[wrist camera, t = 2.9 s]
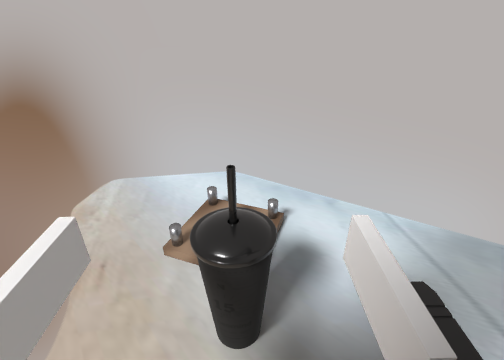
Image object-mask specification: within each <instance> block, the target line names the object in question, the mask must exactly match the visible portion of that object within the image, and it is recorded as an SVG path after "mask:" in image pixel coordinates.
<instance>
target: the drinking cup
mask: <svg viewBox="0 0 504 360" xmlns="http://www.w3.org/2000/svg"><path fill="white" fill-rule="evenodd" d="M226 169H227V188H228V206H229V207H228V208H222V209H218V210H215V211H212V212H210V213H208V214H206V215H204V216H203V217H202V218H200V219H199V220H198V221H197V222H196V223H195V224H194V226H193V228H192V230H191V233H190V245H191V248H192V250H193V252H194V253H195V255H196V256H197V259H198V263H199V267H200V270H201V274H202V278H203V282H204V286H205V289H206V293H207V297H208V301H209V304H210V308H211V312H212V316H213V320H214V323H215V327H216V331H217V335H218V337H219V339H220V341H221V342H222V343H223V344H224V345H226V346H228V347H230V348H234V349H242V348H245V347H248V346H250V345H251V344H252V343H253V342H254V341H255V340H256V339H257V337H258V335H259V333H260V327H261V320H262V314H263V308H264V301H265V295H266V288H267V282H268V276H269V269H270V263H271V256H272V251H273V249H274V247H275V245H276V242H277V229H276V226H275V225H274V223H273V221H272V220H271V219H270V218H269V217H268V216H266V215H265V214H263V213H261V212H259V211H257V210H254V209H250V208H244V207H237V203H236V176H235V166H233V165H228V166H227V167H226Z"/></svg>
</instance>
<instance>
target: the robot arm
mask: <svg viewBox="0 0 504 360" xmlns="http://www.w3.org/2000/svg"><path fill="white" fill-rule="evenodd" d="M343 259H344V262H345V264H346V266H347V269H348V271H349V274H350V276H351V279H352V281H353V284H354V286H355V288H356V291H357V293H358V296H359V298H360V301H361V303H362V306H363V308H364V311H365V313H366V315H367V318H368V320H369V323H370V325H371V328H372V330H373V333H374V335H375V337H376V340H377V342H378V345H379V347H380V350H381V352H382V355H383V357H384V360H483V359H482V358H481V356H480V355H479V353H478V352H477V350H476V349H475V348H474V346H473V345H472V343H471V342H470V340H469V339H468V337H467V336H466V335H465V333H464V332H463V330H462V329H461V327H460V326H459V325H458V323H457V322H456V320H455V319H453V318H452V315H451V313H450V312H449V310H448V309H447V308H445V305H444V303H443V302H442V300H441V299H440V297H439V296H438V295H437V293H436V292H435V291H434V290H433V289H431V288H430V287H429V286H428V285H427V284H425V283H424V282H410V281H409V280H408V278H407V276H406V275H405V273H404V272H403V270H402V268H401V267H400V265H399V264H398V262H397V260H396V259H395V257H394V256H393V254H392V252H391V251H390V249H389V248H388V246H387V244H386V243H385V241H384V240H383V238H382V237H381V235H380V233H379V232H378V230H377V229H376V227H375V225H374V224H373V222H372V221H371V219H370V217H369V216H368V215H352V218H351V223H350V227H349V232H348V237H347V241H346V246H345V251H344V255H343ZM90 261H91V259H90V256H89V254H88V251H87V248H86V246H85V243H84V240H83V237H82V235H81V232H80V229H79V226H78V224H77V221H76V218H75V217H58V218H57V220H56V221H54V223H53V224H52V225H51V226H50V227H49V228H48V229H47V230H46V231H45V232H44V233H43V234H42V235H41V236H40V237H39V238H38V240H36V241H35V243H33V245H32V246H31V247H30V248H29V249H28V250H27V251H26V252H25V253H24V254H23V255H22V256H21V257H20V258H19V259H18V260H17V261H16V262H15V263H14V264H13V265H12V267H11V268H10V269H9V270H8V271H7V272H6V273H5V274H4V275H3V276H2V277H1V278H0V360H27V358H28V356H29V355H30V353H31V352H32V350H33V349H34V347H35V345H36V344H37V343H38V341H39V339H40V338H41V336H42V335H43V333H44V332H45V330H46V329H47V327H48V326H49V324H50V323H51V321H52V319H53V318H54V316H55V315H56V313H57V312H58V310H59V309H60V307H61V306H62V304H63V302H64V301H65V299H66V298H67V296H68V295H69V293H70V292H71V290H72V289H73V287H74V286H75V284H76V282H77V281H78V279H79V278H80V276H81V275H82V273H83V272H84V270H85V269H86V267H87V265H88V264H89V262H90Z"/></svg>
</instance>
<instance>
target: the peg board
mask: <svg viewBox="0 0 504 360" xmlns="http://www.w3.org/2000/svg"><path fill="white" fill-rule="evenodd" d="M207 192H208V200H207V201H206V202H205V203H204V204H203V205H202V206H201V207H200V208H199V209H198V210H197V211H196V212H195V213H194V214H193V216H192V217H191V218H190V219H189V220H188V221H187V222H186V223H185V224H184V225H183V226H182V227H181V225H180V224H179V223H174V224H171V225H170V226H169V230H170V235H171V239H170V240H169V241H168V242H167V243H166V244H165V245H164V246H163V250H164V255H167V256H170V257H173V258H176V259H180V260H183V261H186V262H190V263H193V264H196V265H199V263H198V259H197V256H196V255H195V253H194V252H193V250H192V248H191V245H190V233H191V230H192V228H193V226H194V224H195V223H196V222H197V221H198V220H199V219H200V218H202V217H203V216H204V215H206V214H208V213H210V212H212V211H215V210H218V209H222V208H228V207H229V206H228V201H225V200H220V199H217V188H216V187H214V186H211V187H208V188H207ZM237 207H244V208H250V209H254V210H257V211H259V212H261V213H263V214H265V215H266V216H268V217H269V218H270V219H271V220H272V221H273V223H274V225H275V226H276V229H277V233H278V231H279V229H280V227H281V224H282V222H283V218H284V213H281V212H278V200H277V199H274V198H272V199H269V200H268V210H267V209H262V208H257V207H253V206H248V205H243V204H239V203H237Z"/></svg>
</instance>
